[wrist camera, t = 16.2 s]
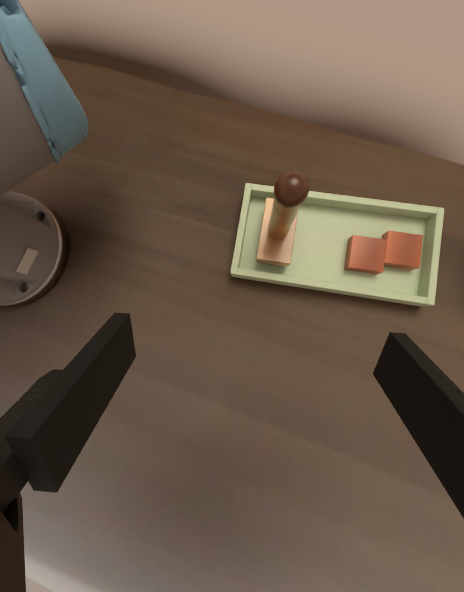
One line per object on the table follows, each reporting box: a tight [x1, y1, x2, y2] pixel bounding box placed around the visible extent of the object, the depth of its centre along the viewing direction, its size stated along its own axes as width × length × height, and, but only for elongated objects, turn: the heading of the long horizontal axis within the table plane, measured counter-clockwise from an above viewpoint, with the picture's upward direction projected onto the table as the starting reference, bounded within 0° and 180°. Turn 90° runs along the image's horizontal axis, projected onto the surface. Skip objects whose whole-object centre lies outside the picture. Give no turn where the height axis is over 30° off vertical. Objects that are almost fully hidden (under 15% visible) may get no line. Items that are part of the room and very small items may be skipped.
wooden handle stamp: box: [256, 171, 309, 267], centre depth 26 cm, size 4×8×13 cm, turn 170°
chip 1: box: [344, 235, 387, 274], centre depth 31 cm, size 4×4×2 cm
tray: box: [230, 183, 444, 306], centre depth 31 cm, size 24×12×2 cm, turn 80°
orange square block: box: [382, 231, 423, 270], centre depth 31 cm, size 4×4×2 cm
